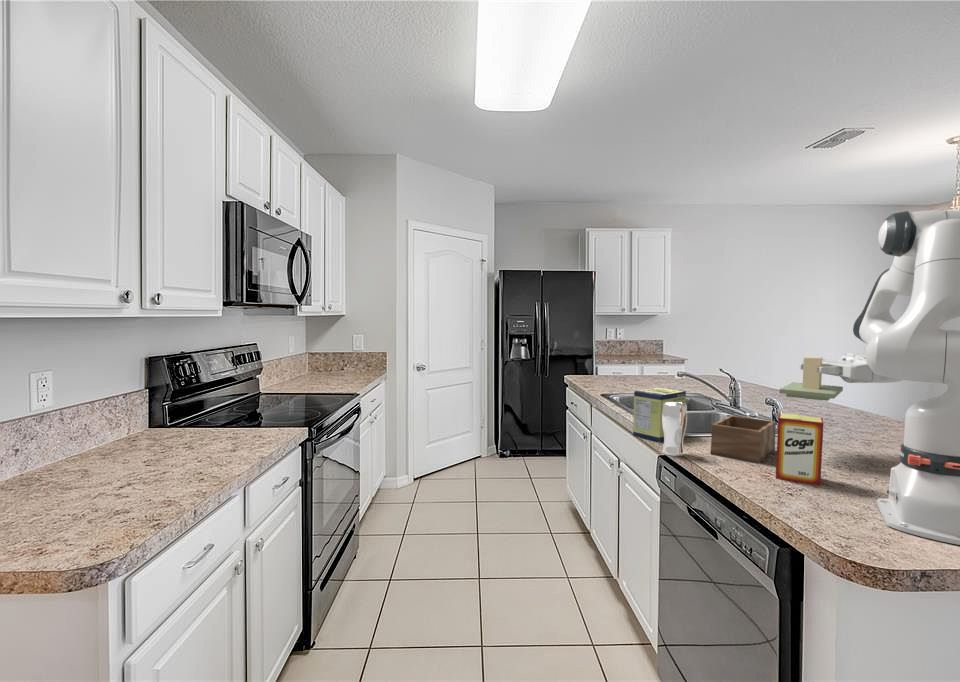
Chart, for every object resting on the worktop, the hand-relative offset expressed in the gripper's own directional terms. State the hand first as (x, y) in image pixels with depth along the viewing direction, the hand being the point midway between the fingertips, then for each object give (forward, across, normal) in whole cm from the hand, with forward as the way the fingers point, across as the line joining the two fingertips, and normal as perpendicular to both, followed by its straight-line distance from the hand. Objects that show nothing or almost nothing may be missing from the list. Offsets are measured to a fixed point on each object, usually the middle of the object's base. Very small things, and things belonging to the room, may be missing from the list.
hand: (809, 368), depth 147 cm
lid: (-1, 0, +8) cm, 8 cm away
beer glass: (+39, -4, +26) cm, 47 cm away
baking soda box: (+17, +19, +26) cm, 36 cm away
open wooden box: (+17, -4, +26) cm, 31 cm away
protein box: (+34, -25, +26) cm, 50 cm away
